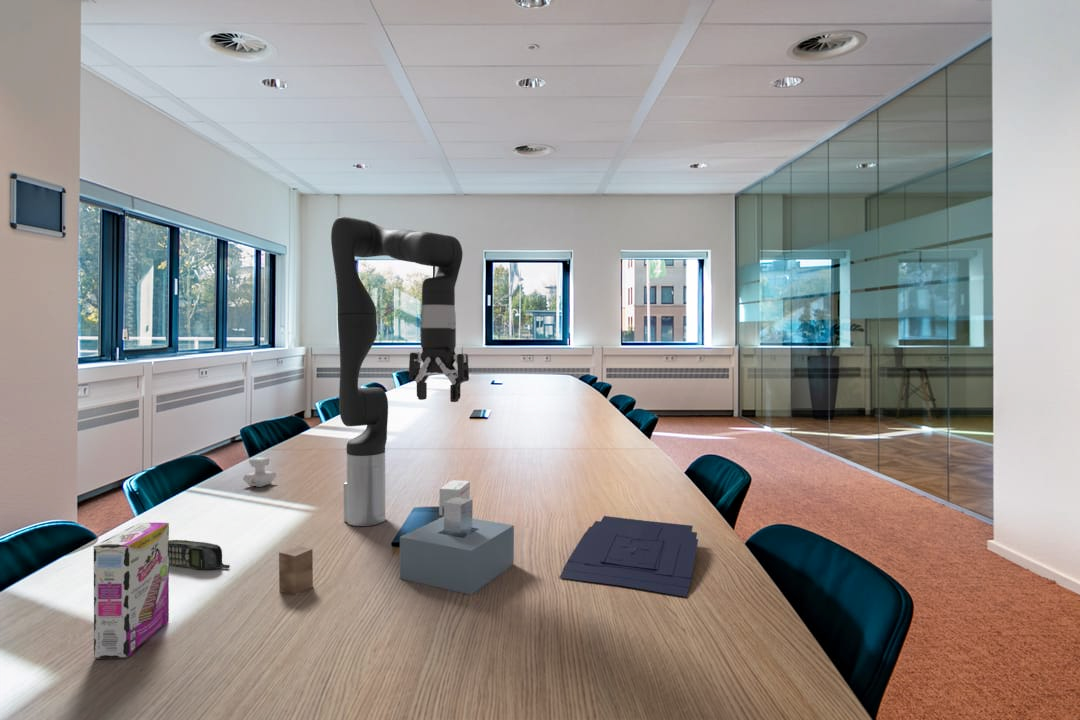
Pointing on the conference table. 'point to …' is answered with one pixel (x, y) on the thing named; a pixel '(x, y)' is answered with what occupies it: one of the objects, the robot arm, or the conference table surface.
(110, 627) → the candy bar box
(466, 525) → the long steel pin
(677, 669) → the conference table surface
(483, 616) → the conference table surface
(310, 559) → the short walnut pin
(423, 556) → the hole block
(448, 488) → the ink box
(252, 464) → the stamp
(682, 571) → the navy flat slab
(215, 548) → the mobile phone
